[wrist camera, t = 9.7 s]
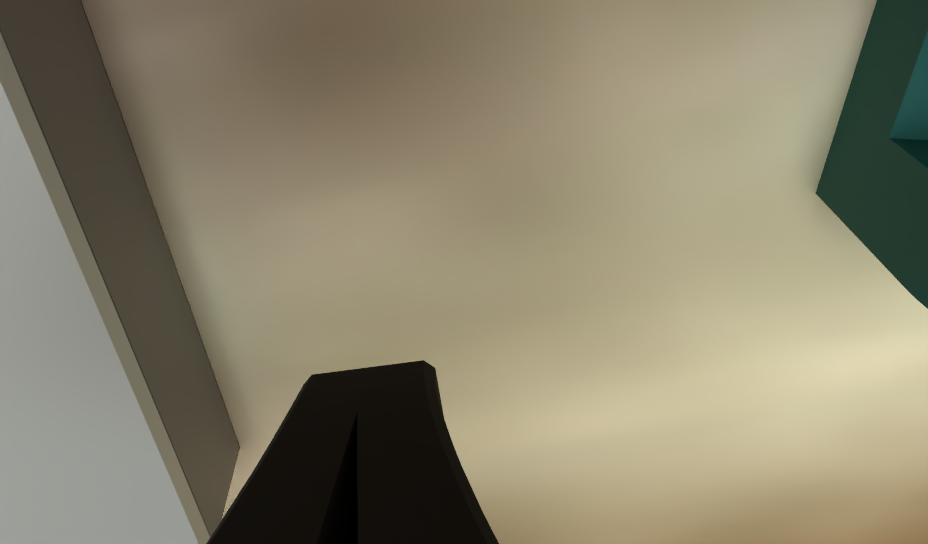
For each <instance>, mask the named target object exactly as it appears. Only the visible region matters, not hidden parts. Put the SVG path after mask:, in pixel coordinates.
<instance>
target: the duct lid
mask: <svg viewBox="0 0 928 544" xmlns="http://www.w3.org/2000/svg"><path fill="white" fill-rule="evenodd" d="M209 539H210V536H209V534H208V531H207V529H206V526H205V524H204V522H203V519H202V517H201V514H200V512H199V509H198V507H197V505H196V502H195V500H194V497H193V495H192V493H191V490H190V488H189V485H188V483H187V481H186V478H185V476H184V473H183V471H182V469H181V466H180V464H179V461H178V459H177V456H176V454H175V452H174V449H173V447H172V444H171V442H170V440H169V437H168V435H167V432H166V430H165V428H164V425H163V423H162V420H161V418H160V416H159V413H158V411H157V408H156V406H155V403H154V401H153V399H152V396H151V394H150V391H149V389H148V387H147V384H146V382H145V379H144V377H143V375H142V372H141V370H140V367H139V365H138V363H137V360H136V358H135V355H134V353H133V350H132V348H131V346H130V343H129V341H128V338H127V336H126V334H125V331H124V329H123V326H122V324H121V322H120V319H119V317H118V314H117V312H116V310H115V307H114V305H113V302H112V300H111V297H110V295H109V293H108V290H107V288H106V285H105V283H104V281H103V278H102V276H101V273H100V271H99V269H98V266H97V264H96V261H95V259H94V257H93V254H92V252H91V249H90V247H89V244H88V242H87V240H86V237H85V235H84V232H83V230H82V228H81V225H80V223H79V220H78V218H77V216H76V213H75V211H74V208H73V206H72V204H71V201H70V199H69V196H68V194H67V191H66V189H65V187H64V184H63V182H62V179H61V177H60V175H59V172H58V170H57V167H56V165H55V163H54V160H53V158H52V155H51V153H50V151H49V148H48V146H47V143H46V141H45V138H44V136H43V134H42V131H41V129H40V126H39V124H38V122H37V119H36V117H35V114H34V112H33V110H32V107H31V105H30V102H29V100H28V98H27V95H26V93H25V90H24V88H23V85H22V83H21V81H20V78H19V76H18V73H17V71H16V69H15V66H14V64H13V61H12V59H11V57H10V54H9V52H8V49H7V47H6V45H5V42H4V40H3V37H2V35H1V33H0V544H206V543H207V542H208V540H209Z"/></svg>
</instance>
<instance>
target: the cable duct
mask: <svg viewBox="0 0 928 544" xmlns="http://www.w3.org/2000/svg"><path fill="white" fill-rule="evenodd" d="M0 33H1V35H2V37H3V40H4V42H5V45H6V47H7V49H8V52H9V54H10V57H11V59H12V61H13V64H14V66H15V69H16V71H17V73H18V76H19V78H20V81H21V83H22V85H23V88H24V90H25V93H26V95H27V98H28V100H29V102H30V105H31V107H32V110H33V112H34V114H35V117H36V119H37V122H38V124H39V126H40V129H41V131H42V134H43V136H44V138H45V141H46V143H47V146H48V148H49V151H50V153H51V155H52V158H53V160H54V163H55V165H56V167H57V170H58V172H59V175H60V177H61V179H62V182H63V184H64V187H65V189H66V191H67V194H68V196H69V199H70V201H71V204H72V206H73V208H74V211H75V213H76V216H77V218H78V220H79V223H80V225H81V228H82V230H83V232H84V235H85V237H86V240H87V242H88V244H89V247H90V249H91V252H92V254H93V257H94V259H95V261H96V264H97V266H98V269H99V271H100V273H101V276H102V278H103V281H104V283H105V285H106V288H107V290H108V293H109V295H110V297H111V300H112V302H113V305H114V307H115V310H116V312H117V314H118V317H119V319H120V322H121V324H122V326H123V329H124V331H125V334H126V336H127V338H128V341H129V343H130V346H131V348H132V350H133V353H134V355H135V358H136V360H137V363H138V365H139V367H140V370H141V372H142V375H143V377H144V379H145V382H146V384H147V387H148V389H149V391H150V394H151V396H152V399H153V401H154V403H155V406H156V408H157V411H158V413H159V416H160V418H161V420H162V423H163V425H164V428H165V430H166V432H167V435H168V437H169V440H170V442H171V444H172V447H173V449H174V452H175V454H176V456H177V459H178V461H179V464H180V466H181V469H182V471H183V473H184V476H185V478H186V481H187V483H188V485H189V488H190V490H191V493H192V495H193V497H194V500H195V502H196V505H197V507H198V509H199V512H200V514H201V517H202V519H203V522H204V524H205V526H206V529H207V531H208V534H209V536H210V537H211V536H212V534H213V533H214V531H215V530H216V528H217V527H218V525H219V524H220V522H221V520H222V516H223V512H224V508H225V504H226V500H227V496H228V492H229V488H230V484H231V480H232V476H233V472H234V468H235V464H236V460H237V456H238V452H239V448H240V447H239V444H238V441H237V438H236V436H235V433H234V430H233V427H232V424H231V422H230V419H229V416H228V413H227V410H226V408H225V405H224V402H223V399H222V396H221V394H220V391H219V388H218V385H217V382H216V380H215V377H214V374H213V371H212V368H211V366H210V363H209V360H208V357H207V354H206V352H205V349H204V346H203V343H202V340H201V338H200V335H199V332H198V329H197V326H196V324H195V321H194V318H193V315H192V312H191V309H190V307H189V304H188V301H187V298H186V295H185V293H184V290H183V287H182V284H181V281H180V279H179V276H178V273H177V270H176V267H175V265H174V262H173V259H172V256H171V253H170V251H169V248H168V245H167V242H166V239H165V237H164V234H163V231H162V228H161V225H160V223H159V220H158V217H157V214H156V211H155V209H154V206H153V203H152V200H151V197H150V195H149V192H148V189H147V186H146V183H145V181H144V178H143V175H142V172H141V169H140V167H139V164H138V161H137V158H136V155H135V153H134V150H133V147H132V144H131V141H130V138H129V136H128V133H127V130H126V127H125V124H124V122H123V119H122V116H121V113H120V110H119V108H118V105H117V102H116V99H115V96H114V94H113V91H112V88H111V85H110V82H109V80H108V77H107V74H106V71H105V68H104V66H103V63H102V60H101V57H100V54H99V52H98V49H97V46H96V43H95V40H94V38H93V35H92V32H91V29H90V26H89V24H88V21H87V18H86V15H85V12H84V10H83V7H82V4H81V1H80V0H0Z"/></svg>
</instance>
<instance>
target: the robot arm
mask: <svg viewBox="0 0 928 544" xmlns="http://www.w3.org/2000/svg"><path fill="white" fill-rule="evenodd" d="M206 544H499V543H498V541H497V539H496V537H495V535H494V533H493V531H492V529H491V528H490V526H489V524H488V522H487V520H486V518H485V516H484V514H483V512H482V510H481V507H480V505H479V503H478V501H477V499H476V496H475V494H474V492H473V490H472V488H471V486H470V483H469V481H468V479H467V477H466V475H465V473H464V470H463V468H462V466H461V463H460V461H459V459H458V456H457V454H456V451H455V449H454V446H453V443H452V440H451V438H450V435H449V432H448V429H447V426H446V423H445V420H444V416H443V410H442V404H441V399H440V393H439V387H438V381H437V376H436V370H435V368H434V367H433V366H431V365H430V364H428V363H427V362H425V361H424V360H423V361H416V362H408V363H400V364H392V365H384V366H377V367H369V368H361V369H353V370H345V371H338V372H330V373H322V374H314V375H311V377H310V378H309V379H308V380H307V381H306V382H305V384H304V385H303V387H302V389H301V390H300V392H299V394H298V396H297V397H296V399H295V401H294V403H293V405H292V406H291V408H290V410H289V412H288V413H287V415H286V417H285V419H284V420H283V422H282V424H281V426H280V427H279V429H278V431H277V432H276V434H275V436H274V438H273V439H272V441H271V443H270V444H269V446H268V448H267V449H266V451H265V453H264V454H263V456H262V458H261V459H260V461H259V463H258V464H257V466H256V468H255V469H254V471H253V472H252V474H251V476H250V477H249V479H248V480H247V482H246V483H245V485H244V486H243V488H242V490H241V491H240V493H239V494H238V496H237V497H236V499H235V500H234V502H233V504H232V505H231V507H230V508H229V510H228V511H227V513H226V514H225V516H224V518H223V519H222V521H221V522H220V524H219V525H218V527H217V528H216V530H215V531H214V533H213V534H212V536H211V537H210V539H209V540H208V542H207V543H206Z"/></svg>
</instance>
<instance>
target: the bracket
mask: <svg viewBox="0 0 928 544" xmlns="http://www.w3.org/2000/svg"><path fill="white" fill-rule="evenodd" d="M816 194H817V195H818V196H819V197H820V198H821V199H822V200H823V201H824V202H825V204H826V205H827V206H828V207H829V208H830V209H831V210H832V211H833V212H834V213H835V214H836V215H837V216H838V217H839V218H840V219H841V220H842V222H843V223H844V224H845V225H846V226H847V227H848V228H849V229H850V230H851V231H852V232H853V233H854V234H855V235H856V236H857V237H858V238H859V240H860V241H861V242H862V243H863V244H864V245H865V246H866V247H867V248H868V249H869V250H870V251H871V252H872V253H873V254H874V255H875V256H876V258H877V259H878V260H879V261H880V262H881V263H882V264H883V265H884V266H885V267H886V268H887V269H888V270H889V271H890V272H891V273H892V274H893V276H894V277H895V278H896V279H897V280H898V281H899V282H900V283H901V284H902V285H903V286H904V287H905V288H906V289H907V290H908V291H909V292H910V293H911V294H912V295H913V296H914V297H915V298H916V299H917V300H918V301H919V302H920V303H922V304H923V305H924V306H925V307H927V308H928V0H877V2H876V6H875V9H874V12H873V15H872V18H871V21H870V24H869V28H868V31H867V34H866V37H865V40H864V43H863V46H862V49H861V53H860V56H859V59H858V62H857V65H856V68H855V71H854V75H853V78H852V81H851V84H850V87H849V90H848V93H847V97H846V100H845V103H844V106H843V109H842V112H841V115H840V119H839V122H838V125H837V128H836V131H835V134H834V137H833V141H832V144H831V147H830V150H829V153H828V156H827V159H826V162H825V166H824V169H823V172H822V175H821V178H820V181H819V184H818V188H817V191H816Z"/></svg>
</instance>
